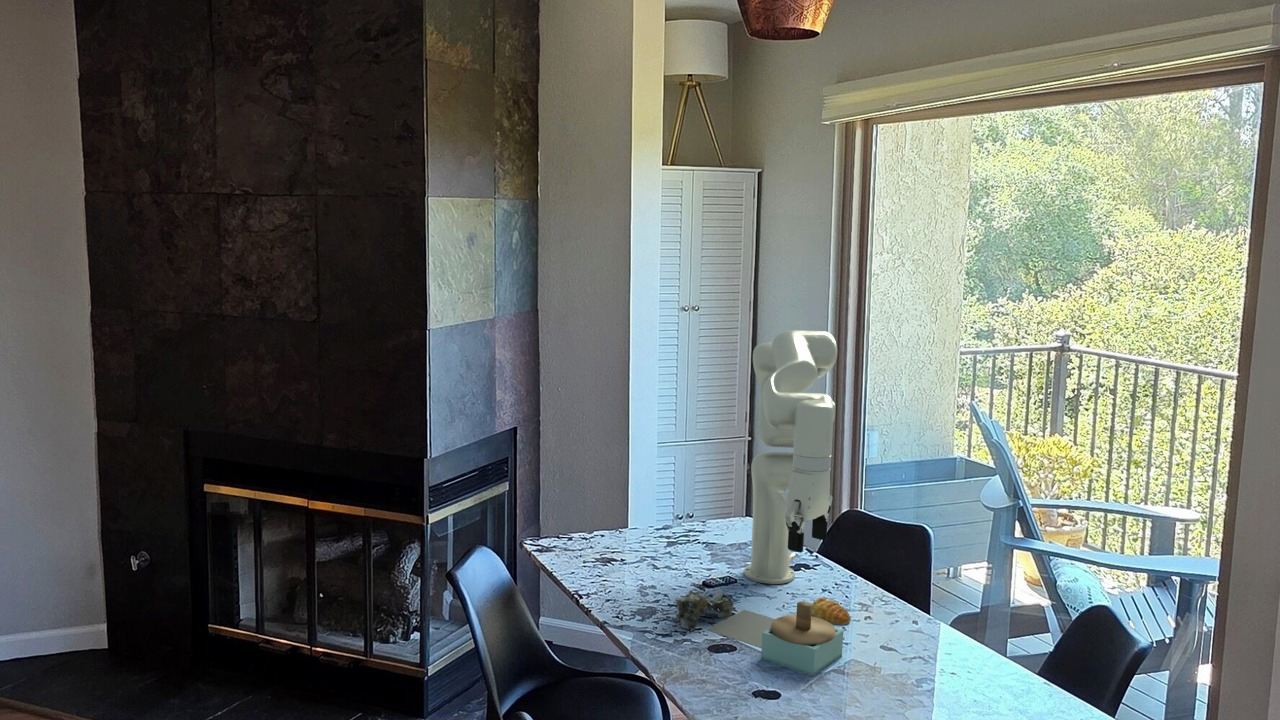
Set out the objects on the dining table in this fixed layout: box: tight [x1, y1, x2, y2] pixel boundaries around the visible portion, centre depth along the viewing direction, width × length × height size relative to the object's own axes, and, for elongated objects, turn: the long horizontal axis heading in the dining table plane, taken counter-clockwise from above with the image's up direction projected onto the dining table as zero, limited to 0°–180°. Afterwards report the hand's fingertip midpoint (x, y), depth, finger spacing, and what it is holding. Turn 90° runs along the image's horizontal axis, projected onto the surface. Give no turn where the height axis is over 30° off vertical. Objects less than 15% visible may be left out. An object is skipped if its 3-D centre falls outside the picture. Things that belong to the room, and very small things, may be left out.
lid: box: [771, 601, 836, 645], centre depth 210 cm, size 13×13×6 cm
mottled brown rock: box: [675, 586, 735, 633], centre depth 229 cm, size 12×11×15 cm
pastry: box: [811, 597, 852, 626], centre depth 232 cm, size 9×7×4 cm
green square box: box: [760, 627, 844, 677], centre depth 211 cm, size 12×12×6 cm
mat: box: [706, 609, 776, 649], centre depth 225 cm, size 15×15×1 cm
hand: (807, 544), depth 208 cm, fingers open, 9 cm apart
